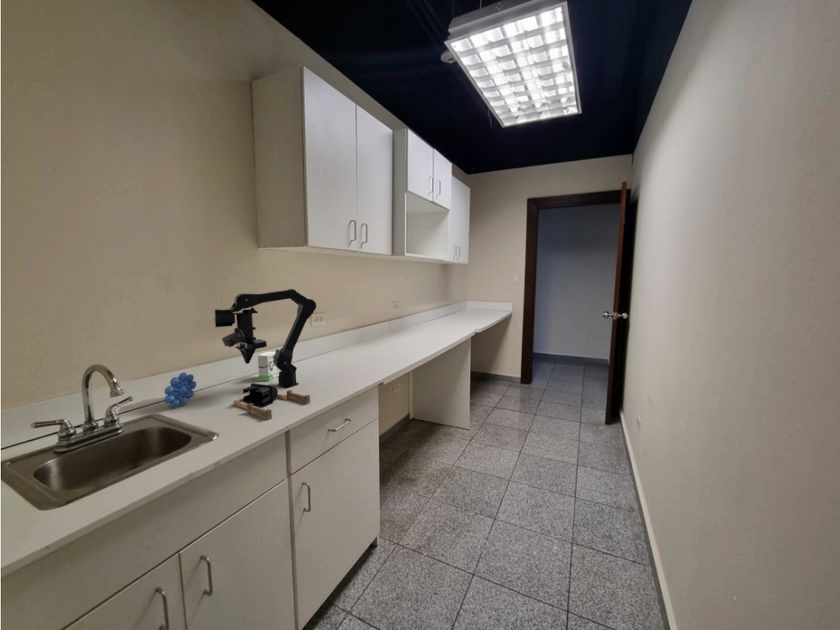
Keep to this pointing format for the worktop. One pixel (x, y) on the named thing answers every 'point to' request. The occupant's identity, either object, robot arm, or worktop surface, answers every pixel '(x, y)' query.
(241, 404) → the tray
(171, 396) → the grapes
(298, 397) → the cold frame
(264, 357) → the ink box
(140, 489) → the worktop surface
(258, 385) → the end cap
